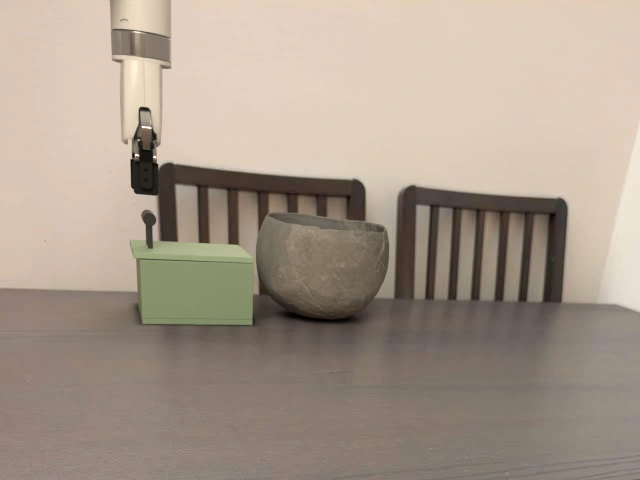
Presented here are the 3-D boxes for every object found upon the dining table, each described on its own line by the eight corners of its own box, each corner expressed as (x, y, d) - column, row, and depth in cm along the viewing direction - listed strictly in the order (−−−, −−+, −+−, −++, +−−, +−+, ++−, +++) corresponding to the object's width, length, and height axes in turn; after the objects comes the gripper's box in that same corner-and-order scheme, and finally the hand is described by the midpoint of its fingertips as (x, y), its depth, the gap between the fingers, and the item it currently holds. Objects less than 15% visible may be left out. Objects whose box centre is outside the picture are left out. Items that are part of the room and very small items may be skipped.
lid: (133, 258, 99) (131, 214, 96) (129, 245, 110) (128, 205, 108) (253, 263, 104) (254, 222, 101) (238, 250, 115) (238, 212, 113)
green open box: (142, 324, 102) (139, 259, 99) (138, 304, 114) (135, 246, 111) (252, 325, 107) (253, 263, 104) (237, 306, 119) (238, 250, 115)
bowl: (251, 327, 106) (253, 218, 100) (256, 300, 125) (258, 207, 119) (390, 335, 109) (401, 229, 102) (375, 308, 127) (383, 217, 121)
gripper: (110, 53, 101) (114, 186, 108) (112, 40, 86) (117, 194, 93) (166, 61, 104) (167, 190, 110) (177, 49, 89) (177, 199, 96)
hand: (144, 192), depth 102 cm, fingers open, 9 cm apart
